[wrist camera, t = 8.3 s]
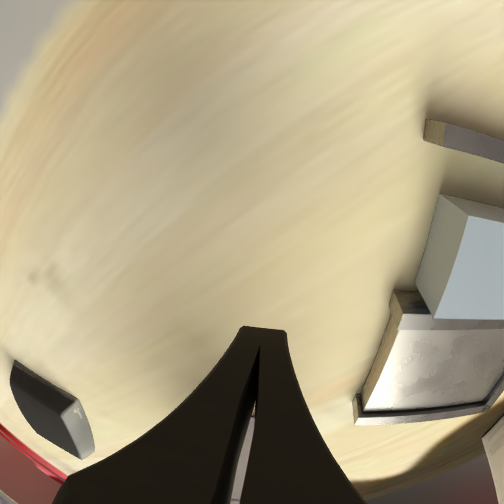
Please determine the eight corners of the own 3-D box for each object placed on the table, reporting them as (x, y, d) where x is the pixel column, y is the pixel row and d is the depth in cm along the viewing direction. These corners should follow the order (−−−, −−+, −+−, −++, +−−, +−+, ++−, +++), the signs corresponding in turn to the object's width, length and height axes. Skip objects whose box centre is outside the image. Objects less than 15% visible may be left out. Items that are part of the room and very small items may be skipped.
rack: (480, 393, 22) (488, 413, 19) (352, 402, 24) (354, 428, 21) (572, 172, 12) (595, 183, 9) (425, 119, 13) (448, 122, 11)
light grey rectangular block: (514, 289, 17) (538, 319, 14) (413, 280, 18) (433, 318, 14) (539, 217, 14) (571, 240, 11) (436, 192, 15) (468, 215, 12)
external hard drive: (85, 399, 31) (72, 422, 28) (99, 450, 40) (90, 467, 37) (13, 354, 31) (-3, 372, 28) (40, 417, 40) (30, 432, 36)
